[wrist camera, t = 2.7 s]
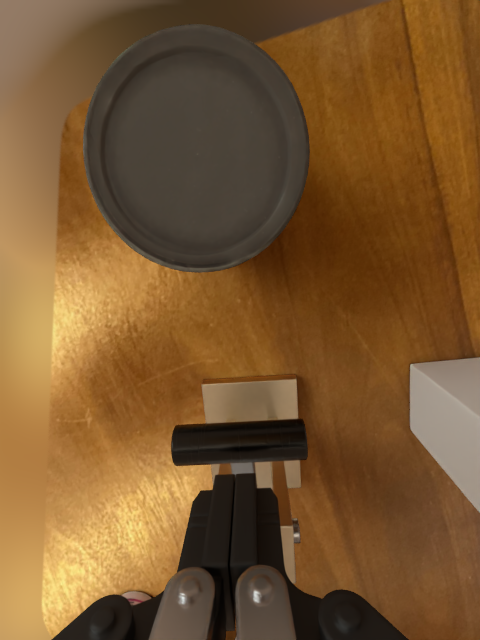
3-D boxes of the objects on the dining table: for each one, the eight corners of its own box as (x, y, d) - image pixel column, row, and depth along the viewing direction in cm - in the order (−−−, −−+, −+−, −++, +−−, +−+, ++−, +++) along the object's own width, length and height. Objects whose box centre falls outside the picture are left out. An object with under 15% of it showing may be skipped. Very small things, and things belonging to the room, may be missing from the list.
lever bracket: (203, 379, 33) (169, 476, 19) (295, 373, 32) (325, 469, 19) (214, 483, 36) (192, 631, 22) (299, 479, 35) (329, 628, 22)
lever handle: (175, 412, 16) (167, 459, 14) (301, 404, 16) (309, 452, 14) (213, 522, 24) (211, 561, 22) (296, 519, 24) (300, 558, 22)
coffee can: (149, 144, 28) (50, 54, 14) (271, 117, 27) (291, -6, 13) (177, 267, 30) (116, 290, 17) (290, 245, 29) (324, 251, 16)
